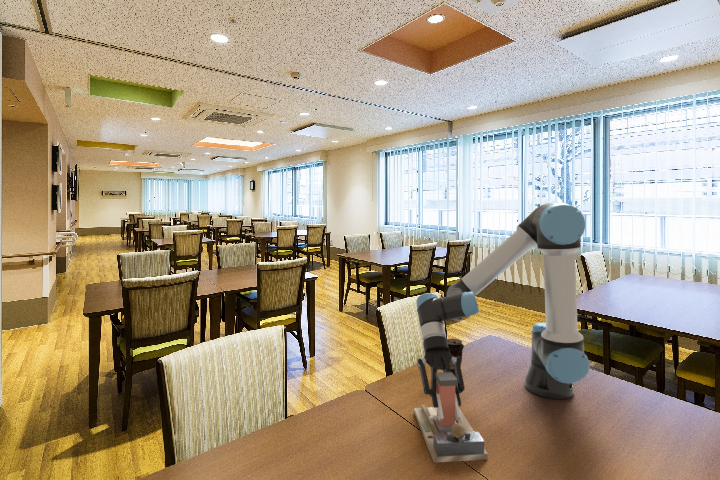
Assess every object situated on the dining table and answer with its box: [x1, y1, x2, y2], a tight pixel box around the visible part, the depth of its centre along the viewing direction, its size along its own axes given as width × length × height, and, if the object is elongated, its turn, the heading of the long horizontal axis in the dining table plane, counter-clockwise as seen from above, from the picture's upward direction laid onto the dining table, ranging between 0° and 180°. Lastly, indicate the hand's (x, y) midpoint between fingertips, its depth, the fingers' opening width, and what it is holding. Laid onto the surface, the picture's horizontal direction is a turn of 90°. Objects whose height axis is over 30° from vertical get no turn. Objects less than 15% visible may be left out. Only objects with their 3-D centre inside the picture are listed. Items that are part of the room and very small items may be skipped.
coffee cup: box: [442, 338, 465, 377], centre depth 144 cm, size 9×8×13 cm
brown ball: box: [451, 423, 466, 438], centre depth 97 cm, size 4×4×4 cm
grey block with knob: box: [433, 431, 485, 457], centre depth 98 cm, size 12×4×5 cm, turn 94°
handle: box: [429, 372, 458, 433], centre depth 108 cm, size 8×7×15 cm
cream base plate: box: [413, 403, 489, 463], centre depth 107 cm, size 14×23×3 cm, turn 4°
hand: (449, 419), depth 105 cm, fingers closed on handle, 4 cm apart
